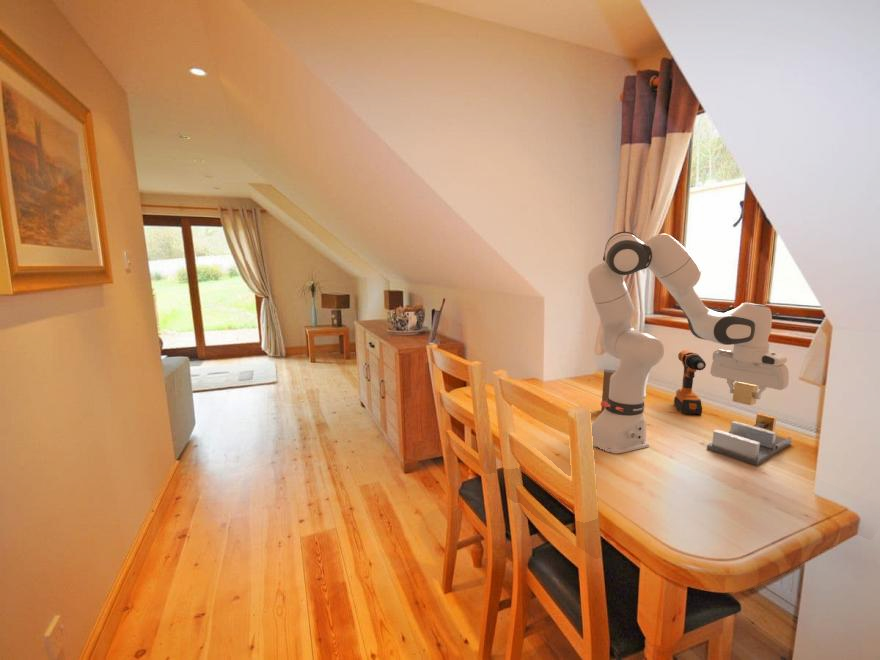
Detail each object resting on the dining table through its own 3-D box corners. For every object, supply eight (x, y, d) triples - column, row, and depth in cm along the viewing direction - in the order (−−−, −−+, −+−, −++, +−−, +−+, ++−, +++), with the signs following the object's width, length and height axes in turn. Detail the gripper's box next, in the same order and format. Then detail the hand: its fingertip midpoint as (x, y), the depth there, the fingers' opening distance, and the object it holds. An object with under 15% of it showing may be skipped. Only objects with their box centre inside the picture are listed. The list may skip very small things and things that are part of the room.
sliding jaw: (771, 448, 132) (774, 428, 131) (729, 435, 142) (731, 417, 141) (786, 439, 139) (789, 420, 138) (745, 427, 149) (747, 410, 148)
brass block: (750, 405, 128) (752, 387, 127) (732, 401, 132) (734, 383, 131) (755, 403, 130) (758, 385, 129) (737, 398, 134) (739, 381, 133)
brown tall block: (624, 413, 168) (628, 371, 165) (624, 417, 164) (628, 374, 161) (601, 410, 172) (604, 369, 169) (601, 413, 168) (603, 371, 165)
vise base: (756, 466, 124) (759, 446, 123) (706, 449, 136) (708, 430, 135) (790, 444, 139) (793, 426, 138) (743, 430, 151) (745, 413, 150)
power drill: (708, 421, 159) (715, 359, 155) (687, 420, 161) (693, 358, 157) (690, 403, 180) (696, 348, 176) (672, 402, 182) (677, 347, 178)
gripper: (709, 349, 135) (704, 389, 138) (785, 361, 118) (779, 406, 121) (717, 347, 139) (713, 386, 141) (793, 358, 122) (787, 402, 124)
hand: (744, 395), depth 131 cm, fingers closed on brass block, 5 cm apart
